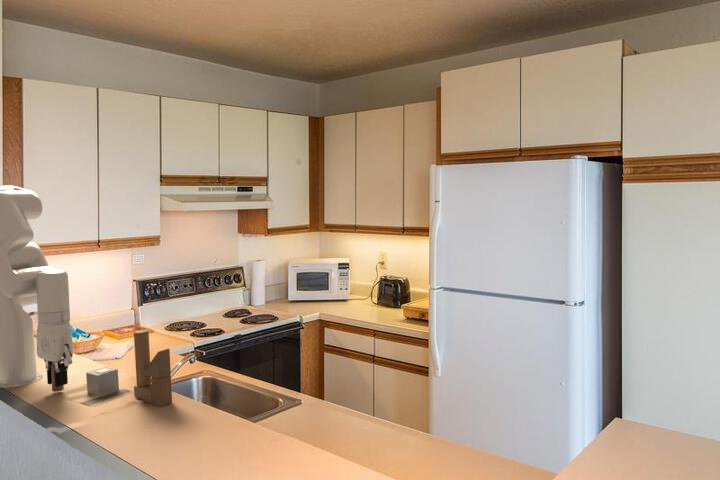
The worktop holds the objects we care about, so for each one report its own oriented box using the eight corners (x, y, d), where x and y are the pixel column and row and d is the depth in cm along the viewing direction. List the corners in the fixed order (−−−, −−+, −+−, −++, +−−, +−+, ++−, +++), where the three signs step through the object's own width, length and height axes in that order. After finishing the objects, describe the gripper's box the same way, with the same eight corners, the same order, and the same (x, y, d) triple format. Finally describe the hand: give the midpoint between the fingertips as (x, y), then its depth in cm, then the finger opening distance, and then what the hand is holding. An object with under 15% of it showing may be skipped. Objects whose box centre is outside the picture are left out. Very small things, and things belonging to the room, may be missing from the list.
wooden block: (161, 407, 145) (157, 336, 144) (134, 399, 151) (130, 332, 150) (173, 402, 148) (169, 333, 147) (145, 395, 154) (142, 329, 153)
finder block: (87, 392, 154) (86, 371, 154) (107, 386, 159) (106, 365, 159) (98, 396, 152) (97, 374, 151) (119, 389, 157) (117, 368, 156)
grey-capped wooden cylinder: (49, 390, 155) (48, 357, 154) (60, 387, 157) (58, 354, 156) (55, 392, 153) (54, 359, 152) (66, 389, 155) (64, 356, 154)
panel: (52, 398, 154) (51, 393, 154) (93, 384, 164) (93, 380, 164) (92, 410, 144) (91, 406, 144) (133, 395, 154) (133, 391, 154)
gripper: (23, 315, 154) (27, 382, 156) (57, 323, 145) (61, 394, 147) (51, 310, 160) (54, 374, 162) (85, 317, 152) (88, 385, 154)
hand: (57, 383), depth 155 cm, fingers closed on grey-capped wooden cylinder, 2 cm apart
